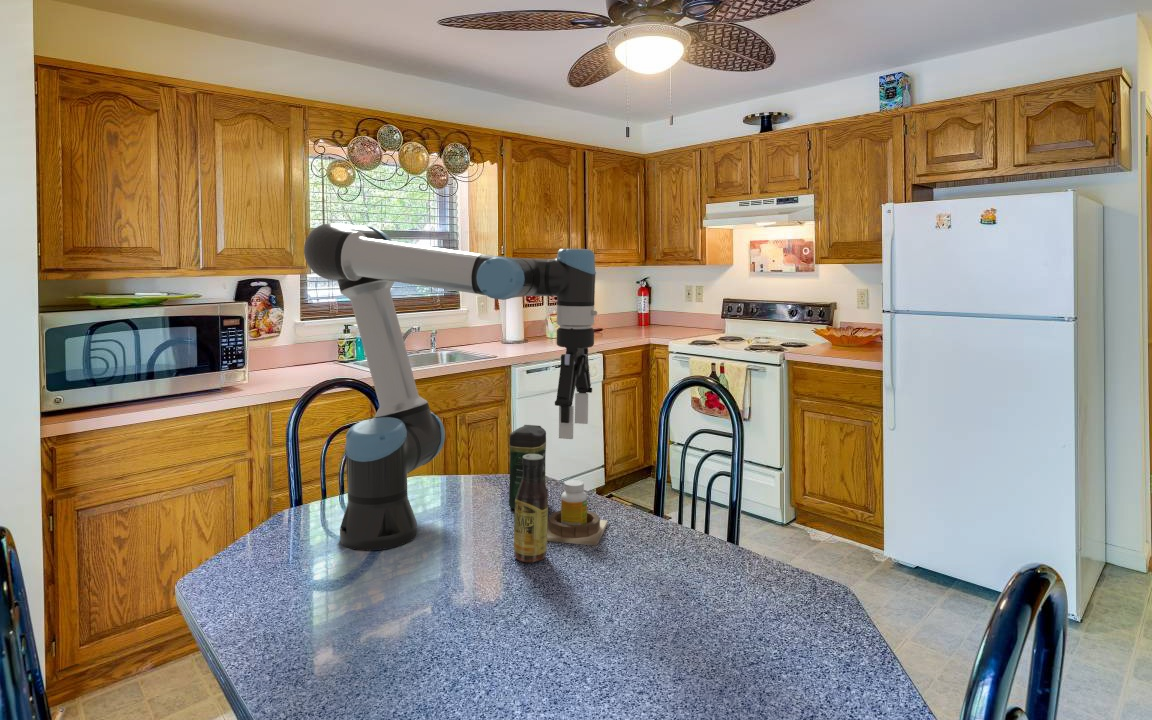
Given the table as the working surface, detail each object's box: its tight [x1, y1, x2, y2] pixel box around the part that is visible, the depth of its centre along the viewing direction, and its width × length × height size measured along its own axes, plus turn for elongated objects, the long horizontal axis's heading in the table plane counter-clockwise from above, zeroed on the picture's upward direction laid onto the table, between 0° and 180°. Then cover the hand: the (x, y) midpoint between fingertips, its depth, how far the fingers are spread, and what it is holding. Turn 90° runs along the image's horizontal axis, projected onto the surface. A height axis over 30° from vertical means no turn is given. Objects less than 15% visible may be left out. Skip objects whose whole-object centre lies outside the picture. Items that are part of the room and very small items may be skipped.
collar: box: [547, 510, 609, 546], centre depth 143 cm, size 12×12×3 cm
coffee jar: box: [508, 424, 547, 510], centre depth 158 cm, size 10×8×19 cm
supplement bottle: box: [560, 479, 588, 525], centre depth 142 cm, size 5×5×10 cm
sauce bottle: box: [513, 454, 549, 564], centre depth 129 cm, size 7×6×20 cm
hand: (574, 430), depth 140 cm, fingers open, 13 cm apart
